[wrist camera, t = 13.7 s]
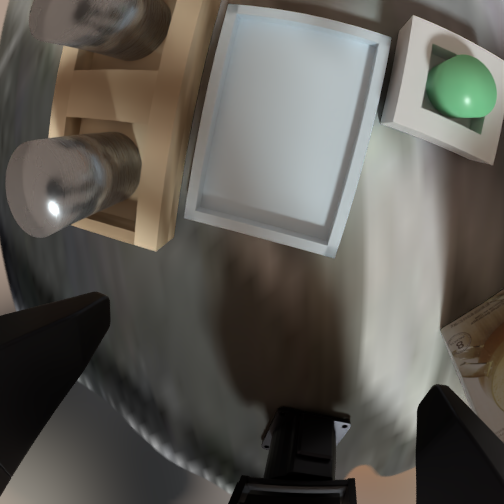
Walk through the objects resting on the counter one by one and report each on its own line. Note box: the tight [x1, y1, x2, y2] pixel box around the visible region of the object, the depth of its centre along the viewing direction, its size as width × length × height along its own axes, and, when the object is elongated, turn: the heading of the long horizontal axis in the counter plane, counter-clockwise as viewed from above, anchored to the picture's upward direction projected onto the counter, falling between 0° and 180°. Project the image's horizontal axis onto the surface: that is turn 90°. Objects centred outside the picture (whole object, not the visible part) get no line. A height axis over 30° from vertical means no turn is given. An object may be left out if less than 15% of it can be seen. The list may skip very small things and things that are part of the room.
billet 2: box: [6, 132, 142, 238], centre depth 15 cm, size 5×5×7 cm
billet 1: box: [29, 0, 171, 61], centre depth 11 cm, size 5×5×7 cm
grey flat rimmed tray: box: [184, 4, 392, 258], centre depth 16 cm, size 13×9×1 cm
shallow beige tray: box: [49, 0, 221, 251], centre depth 16 cm, size 17×9×3 cm, turn 168°
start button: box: [426, 54, 497, 118], centre depth 11 cm, size 3×3×2 cm
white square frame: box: [380, 15, 504, 165], centre depth 13 cm, size 6×6×3 cm
